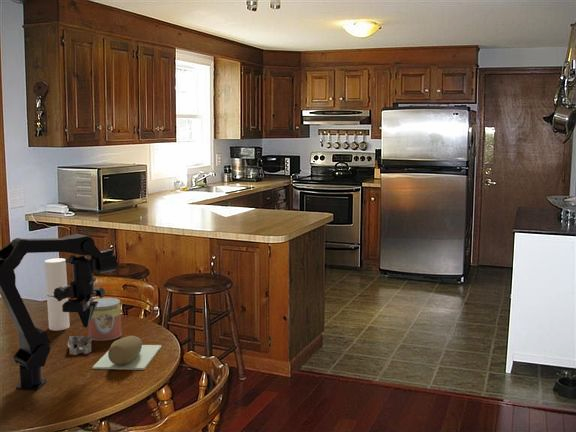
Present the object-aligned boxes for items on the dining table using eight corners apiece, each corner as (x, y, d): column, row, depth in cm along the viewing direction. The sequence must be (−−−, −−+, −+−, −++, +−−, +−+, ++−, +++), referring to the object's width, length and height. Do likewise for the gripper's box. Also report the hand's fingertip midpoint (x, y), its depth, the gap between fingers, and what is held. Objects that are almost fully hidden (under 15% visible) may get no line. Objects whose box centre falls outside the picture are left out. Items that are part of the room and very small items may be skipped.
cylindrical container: (48, 331, 234) (43, 263, 230) (49, 325, 241) (45, 259, 237) (69, 329, 236) (65, 261, 232) (70, 323, 243) (66, 257, 239)
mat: (144, 369, 197) (144, 367, 197) (92, 368, 198) (92, 367, 198) (161, 346, 216) (161, 345, 216) (114, 346, 218) (114, 344, 218)
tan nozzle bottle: (99, 358, 196) (123, 343, 214) (120, 373, 195) (142, 357, 213) (113, 336, 195) (135, 323, 213) (134, 352, 194) (155, 338, 212)
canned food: (89, 342, 222) (87, 308, 220) (88, 332, 233) (86, 299, 231) (123, 338, 225) (121, 304, 224) (120, 328, 236) (119, 296, 234)
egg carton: (91, 354, 211) (91, 342, 211) (67, 356, 209) (66, 344, 209) (93, 343, 221) (92, 331, 221) (69, 345, 220) (69, 333, 219)
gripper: (69, 269, 205) (72, 317, 207) (43, 283, 186) (46, 336, 188) (104, 269, 204) (106, 317, 206) (81, 284, 185) (83, 337, 188)
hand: (85, 326), depth 197 cm, fingers closed
